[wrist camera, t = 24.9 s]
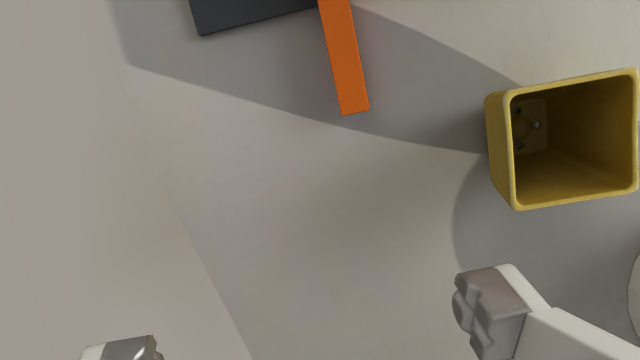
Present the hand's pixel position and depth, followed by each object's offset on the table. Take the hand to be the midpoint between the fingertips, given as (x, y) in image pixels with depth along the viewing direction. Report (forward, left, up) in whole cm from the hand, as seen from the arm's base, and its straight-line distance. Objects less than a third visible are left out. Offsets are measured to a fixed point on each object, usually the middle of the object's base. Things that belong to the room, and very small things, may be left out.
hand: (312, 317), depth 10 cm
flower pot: (+17, -2, -27) cm, 32 cm away
